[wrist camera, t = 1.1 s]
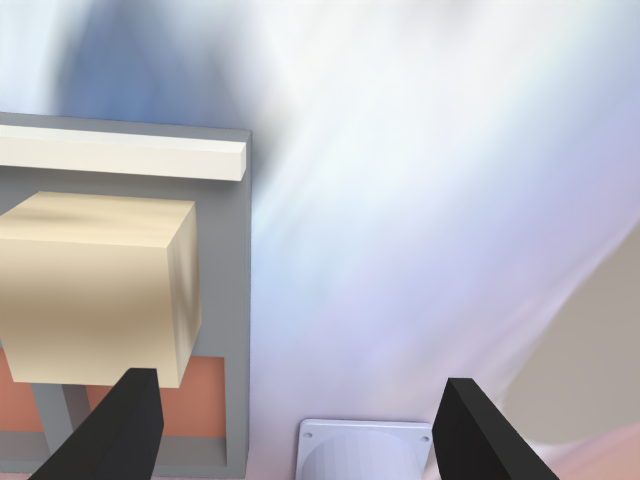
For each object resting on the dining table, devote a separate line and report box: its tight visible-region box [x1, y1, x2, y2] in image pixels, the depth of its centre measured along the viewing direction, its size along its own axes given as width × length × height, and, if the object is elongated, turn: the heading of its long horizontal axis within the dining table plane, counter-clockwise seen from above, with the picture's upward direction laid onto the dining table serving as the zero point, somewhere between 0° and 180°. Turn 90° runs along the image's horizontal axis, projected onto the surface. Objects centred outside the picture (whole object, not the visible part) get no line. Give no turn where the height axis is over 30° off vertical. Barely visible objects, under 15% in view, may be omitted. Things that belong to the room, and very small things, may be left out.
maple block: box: [0, 191, 202, 388], centre depth 17 cm, size 6×6×4 cm
